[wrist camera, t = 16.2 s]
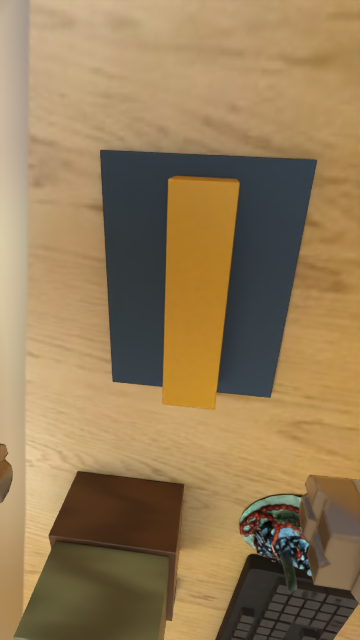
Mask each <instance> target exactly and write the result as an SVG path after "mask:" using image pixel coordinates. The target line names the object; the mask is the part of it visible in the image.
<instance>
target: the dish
mask: <svg viewBox="0 0 360 640" xmlns="http://www.w3.org/2000/svg"><path fill="white" fill-rule="evenodd" d="M300 501H301V497H296V496H294V495H279V496H271V497H268V498H266V499H263V500H259V501H257V502H255V503H254V504H253V505H251V506H250V507H249V508H248V509H247V510H246V511H245V512H244V513H243V514H242V516H241V519H240V534H241V535H242V536H243V538H244V540H245V542H246V543H248V544H249V545H250V546H251V547H252V548H254V549H256V550H257V553H258V554H259V555H261V556H263V557H264V558H266V557H267V558H268V557H270V558H275V559H277V560H278V563H279V564H282V566H283V569H284V573H285V579H286V585H287V589H288V592H289V593H290V594H292V592H293V590H296V589H297V583H296V576H295V569H294V568H296V569H302V571H305V570H306V572H307V574H308V575H309V576H312V574H311V570H310V566H309V562H308V557H307V553H308V550H309V547H310V544H309V543H308V542H307V541H306V539H305V538H304V537H303V536H302V531H301V526H300V522H297V521H300V519H299V507H300ZM289 518H290V519H289ZM270 560H271V559H270ZM272 561H273V560H272ZM274 562H276V561H274Z"/></svg>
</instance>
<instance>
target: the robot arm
mask: <svg viewBox="0 0 360 640" xmlns="http://www.w3.org/2000/svg"><path fill="white" fill-rule="evenodd" d="M7 454H8V452H7V448H6V445H4V444H0V503H1V502H3V500H4V498H5V497H6V495H7V493H8V492H9V489H10V485H11V482H12V475H13V471H12V467H11V465H10V464H9V463H8V462H7V461H6V460H5V457H6V456H7ZM305 486H306V490H307V493H306V494H304V495H303V496H302V497H301V501H300V507H299V519H300V526H301V531H302V536H303V537H304V538H305V539H306V541H307V542H308V543H309V544H310V547H309V550H308V553H307V557H308V562H309V566H310V570H311V574H312V579H313V583H314V585H318V586H325V587H331V588H338V589H344V590H351V593H352V595H353V596H354V598H355V599H356V600H357V602H358V603H359V604H360V480H358V479H348V478H340V477H329V476H318V475H309V476H308V477H307V480H306V483H305Z"/></svg>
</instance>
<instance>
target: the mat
mask: <svg viewBox="0 0 360 640" xmlns="http://www.w3.org/2000/svg"><path fill="white" fill-rule="evenodd" d="M100 158H101V177H102V195H103V213H104V231H105V250H106V268H107V286H108V304H109V323H110V341H111V359H112V378H113V382H120V383H130V384H140V385H150V386H160V387H163V361H164V322H165V283H166V244H167V205H168V179H169V178H172V177H174V176H192V177H211V178H230V179H237V180H238V181H239V183H240V186H239V195H238V204H237V213H236V222H235V231H234V240H233V249H232V258H231V267H230V276H229V285H228V294H227V303H226V312H225V321H224V330H223V339H222V348H221V357H220V366H219V375H218V384H217V392H219V393H229V394H239V395H249V396H258V397H268V398H270V397H271V392H272V387H273V382H274V377H275V372H276V367H277V362H278V357H279V352H280V347H281V342H282V336H283V331H284V326H285V321H286V316H287V311H288V306H289V301H290V296H291V291H292V286H293V281H294V275H295V270H296V265H297V260H298V255H299V250H300V245H301V240H302V235H303V230H304V225H305V219H306V214H307V209H308V204H309V199H310V194H311V189H312V184H313V179H314V174H315V169H316V164H317V160H310V159H288V158H266V157H244V156H222V155H200V154H178V153H156V152H134V151H112V150H100Z"/></svg>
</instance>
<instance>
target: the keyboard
mask: <svg viewBox="0 0 360 640" xmlns="http://www.w3.org/2000/svg"><path fill="white" fill-rule="evenodd" d="M270 559H271V560H270ZM272 560H273V561H272ZM274 561H276V562H274ZM294 569H295V576H296V583H297V589H296V590H293V592H292V594H290V593H289V592H288V589H287V585H286V579H285V573H284V569H283V566H282V564H279V563H278V560H277V559H275V558H270V557H268V558H267V557H266V558H264V557H263V556H260V555H254V554H252V555H249V556H248V558H247V560H246V563H245V565H244V568H243V570H242V573H241V575H240V578H239V581H238V583H237V586H236V588H235V591H234V594H233V596H232V599H231V601H230V604H229V607H228V609H227V612H226V614H225V617H224V619H223V622H222V625H221V627H220V630H219V632H218V635H217V638H216V640H333V639H334V638H335V636H336V635H337V633H338V632H339V631H340V629H341V628H342V627H343V625H344V624H345V622H346V621H347V620H348V618H349V616H350V615H351V614H352V612H353V611H354V609H355V608H356V607H357V605H358V604H359V603H358V602H357V600H356V599H355V598H354V596H353V595H352V593H351V590H344V589H338V588H331V587H325V586H318V585H314V583H313V579H312V576H309V575H308V574H307V572H306V570H305V571H302V569H296V568H294Z"/></svg>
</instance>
